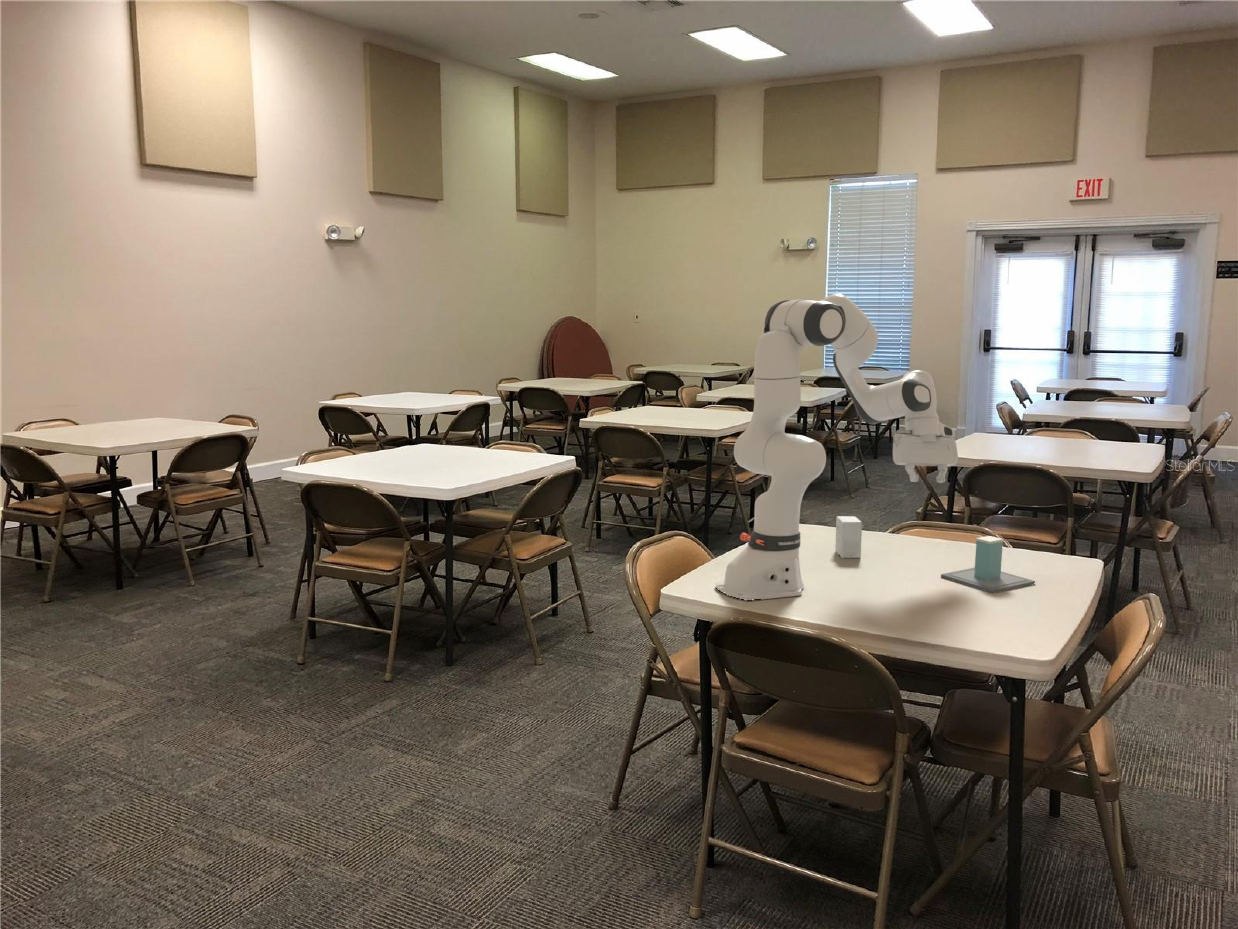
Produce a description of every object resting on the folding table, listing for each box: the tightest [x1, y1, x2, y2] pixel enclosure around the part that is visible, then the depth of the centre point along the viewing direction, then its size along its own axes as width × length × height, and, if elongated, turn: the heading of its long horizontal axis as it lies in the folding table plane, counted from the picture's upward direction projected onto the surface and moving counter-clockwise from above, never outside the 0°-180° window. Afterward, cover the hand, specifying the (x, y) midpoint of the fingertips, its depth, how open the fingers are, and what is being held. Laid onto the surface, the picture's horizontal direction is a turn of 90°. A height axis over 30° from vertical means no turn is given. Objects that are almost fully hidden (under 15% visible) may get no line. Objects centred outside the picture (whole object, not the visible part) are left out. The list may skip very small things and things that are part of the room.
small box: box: [834, 515, 863, 559], centre depth 256 cm, size 8×6×10 cm
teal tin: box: [974, 535, 1005, 581], centre depth 230 cm, size 5×4×10 cm
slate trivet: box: [940, 567, 1036, 594], centre depth 231 cm, size 16×16×1 cm
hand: (928, 482), depth 239 cm, fingers open, 8 cm apart
